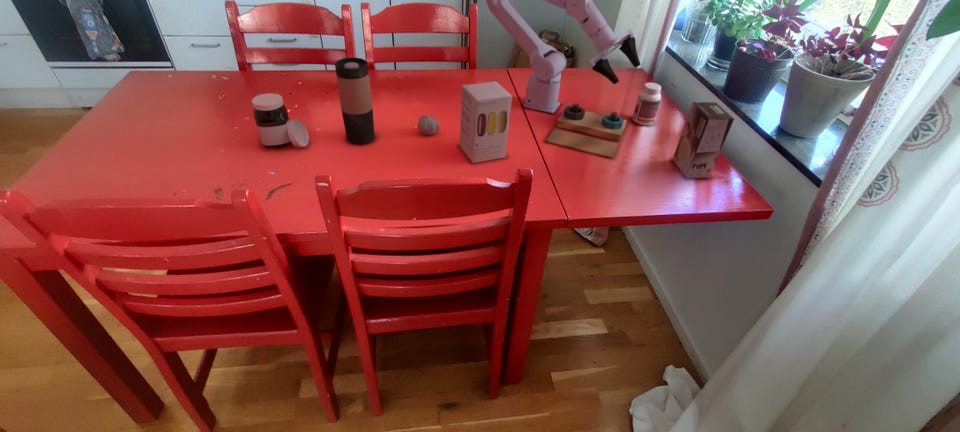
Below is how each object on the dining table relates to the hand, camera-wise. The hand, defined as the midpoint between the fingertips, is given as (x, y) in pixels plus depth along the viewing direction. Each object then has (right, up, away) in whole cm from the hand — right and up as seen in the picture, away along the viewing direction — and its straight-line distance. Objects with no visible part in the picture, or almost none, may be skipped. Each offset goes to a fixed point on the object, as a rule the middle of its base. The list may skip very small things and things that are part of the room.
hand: (627, 74), depth 123 cm
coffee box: (+14, -26, -6) cm, 30 cm away
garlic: (-54, -16, +2) cm, 56 cm away
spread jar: (-89, -19, -6) cm, 91 cm away
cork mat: (-12, -18, +1) cm, 22 cm away
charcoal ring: (-12, -9, +10) cm, 18 cm away
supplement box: (-39, -22, -5) cm, 45 cm away
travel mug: (-71, -18, -2) cm, 73 cm away
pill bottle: (+9, -10, +14) cm, 19 cm away
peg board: (-7, -12, +9) cm, 17 cm away
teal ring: (-2, -12, +6) cm, 14 cm away
